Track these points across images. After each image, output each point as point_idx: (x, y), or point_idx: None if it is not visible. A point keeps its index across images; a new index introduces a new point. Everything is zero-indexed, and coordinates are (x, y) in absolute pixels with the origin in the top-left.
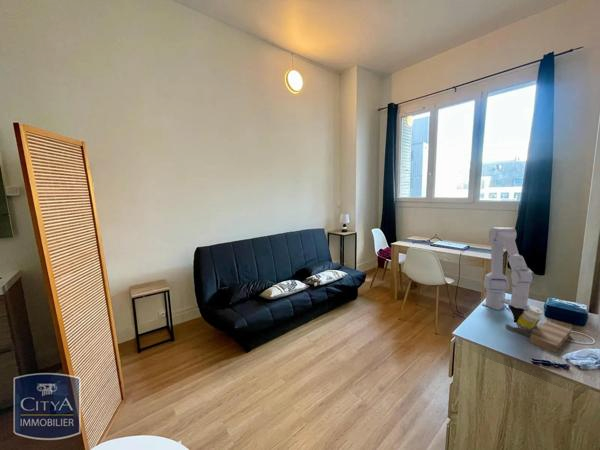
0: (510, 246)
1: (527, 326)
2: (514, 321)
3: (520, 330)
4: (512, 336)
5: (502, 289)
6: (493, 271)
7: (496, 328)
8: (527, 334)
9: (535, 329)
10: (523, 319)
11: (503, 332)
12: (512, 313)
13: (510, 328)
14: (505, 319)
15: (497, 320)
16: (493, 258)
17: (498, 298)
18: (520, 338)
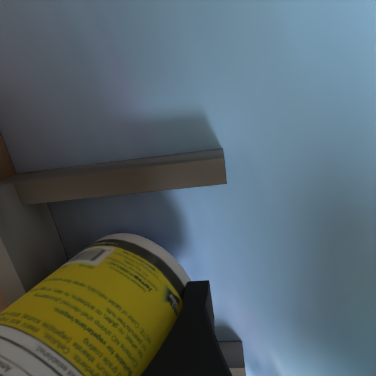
0: None
1: (59, 269)
2: (202, 285)
3: (94, 178)
4: (98, 26)
5: None
6: None
7: (279, 37)
8: (39, 175)
9: (4, 278)
10: (62, 327)
11: (189, 18)
12: (230, 373)
13: (182, 156)
14: (302, 308)
15: (344, 234)
16: None
17: None
18: (47, 69)
